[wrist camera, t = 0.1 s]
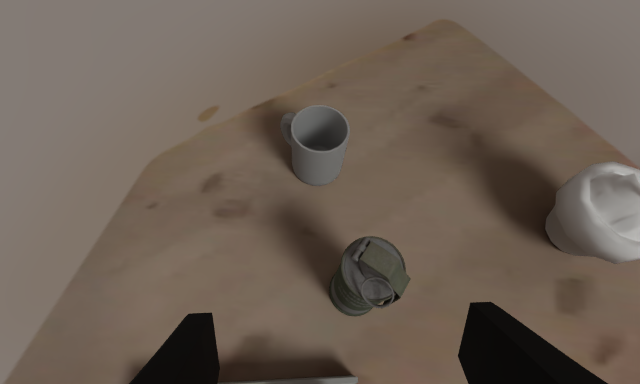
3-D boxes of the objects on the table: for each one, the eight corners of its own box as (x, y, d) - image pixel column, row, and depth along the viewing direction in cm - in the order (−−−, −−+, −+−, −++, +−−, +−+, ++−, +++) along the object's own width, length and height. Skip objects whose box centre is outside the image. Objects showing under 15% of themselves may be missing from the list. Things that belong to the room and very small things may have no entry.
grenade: (319, 297, 41) (330, 268, 27) (345, 257, 43) (368, 213, 30) (363, 329, 39) (398, 315, 26) (388, 286, 42) (432, 253, 28)
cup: (321, 196, 47) (326, 163, 39) (267, 157, 49) (261, 119, 41) (350, 162, 49) (361, 125, 41) (298, 127, 52) (298, 85, 44)
